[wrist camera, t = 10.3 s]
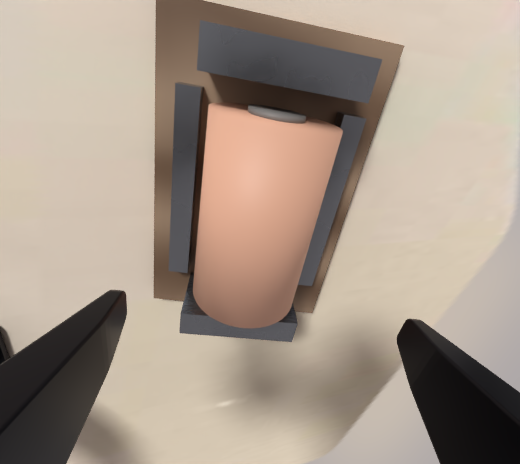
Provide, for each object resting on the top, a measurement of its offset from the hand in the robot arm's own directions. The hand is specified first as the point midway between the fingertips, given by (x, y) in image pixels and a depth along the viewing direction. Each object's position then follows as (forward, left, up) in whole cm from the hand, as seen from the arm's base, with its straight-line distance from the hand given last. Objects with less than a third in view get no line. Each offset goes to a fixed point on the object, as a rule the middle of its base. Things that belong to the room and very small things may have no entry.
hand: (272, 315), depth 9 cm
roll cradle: (0, 0, -11) cm, 11 cm away
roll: (0, 0, -10) cm, 10 cm away
